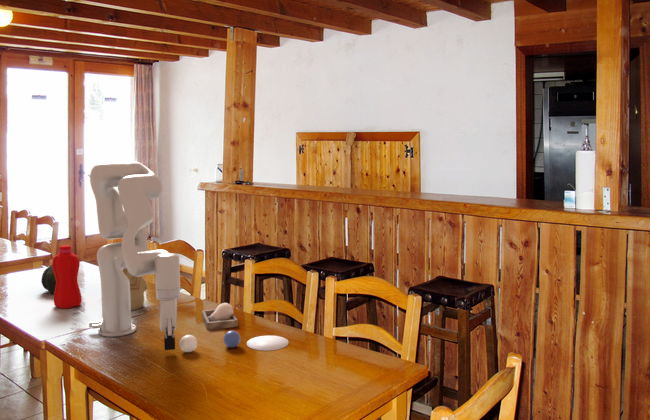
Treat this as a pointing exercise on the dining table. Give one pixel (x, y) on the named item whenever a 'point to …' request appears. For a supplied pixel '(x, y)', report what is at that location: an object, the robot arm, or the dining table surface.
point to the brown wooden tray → (218, 324)
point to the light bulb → (221, 313)
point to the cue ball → (188, 343)
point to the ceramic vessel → (136, 290)
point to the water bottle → (66, 278)
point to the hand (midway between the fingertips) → (169, 348)
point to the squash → (49, 280)
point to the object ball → (231, 339)
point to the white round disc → (267, 343)
